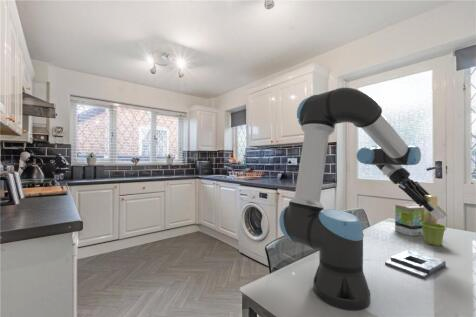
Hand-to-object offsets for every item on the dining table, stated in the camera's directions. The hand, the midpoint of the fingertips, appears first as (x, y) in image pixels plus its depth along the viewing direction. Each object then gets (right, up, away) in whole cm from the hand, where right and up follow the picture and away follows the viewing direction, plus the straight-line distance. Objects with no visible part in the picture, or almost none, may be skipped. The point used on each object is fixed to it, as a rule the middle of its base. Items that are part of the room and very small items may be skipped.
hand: (442, 217), depth 87 cm
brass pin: (-2, -3, +3) cm, 5 cm away
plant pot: (+12, -17, +18) cm, 28 cm away
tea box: (+16, -18, +34) cm, 42 cm away
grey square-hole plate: (-16, -17, -5) cm, 24 cm away
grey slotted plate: (-12, -17, -3) cm, 21 cm away
